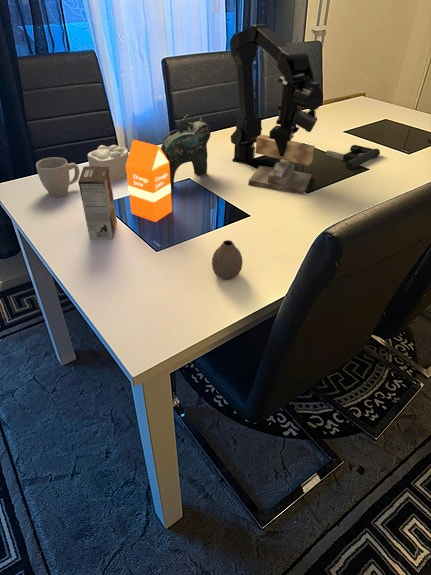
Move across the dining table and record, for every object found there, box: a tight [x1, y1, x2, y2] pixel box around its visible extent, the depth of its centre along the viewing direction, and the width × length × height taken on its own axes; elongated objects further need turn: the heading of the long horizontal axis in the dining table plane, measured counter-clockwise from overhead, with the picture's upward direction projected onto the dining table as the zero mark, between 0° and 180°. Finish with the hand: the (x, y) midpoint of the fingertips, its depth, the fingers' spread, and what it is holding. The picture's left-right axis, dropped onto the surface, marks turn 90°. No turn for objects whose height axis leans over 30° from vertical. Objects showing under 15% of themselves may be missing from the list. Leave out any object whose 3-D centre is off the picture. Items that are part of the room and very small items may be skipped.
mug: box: [35, 156, 81, 198], centre depth 125 cm, size 12×9×10 cm
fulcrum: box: [247, 159, 313, 195], centre depth 135 cm, size 18×13×6 cm
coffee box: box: [77, 165, 118, 240], centre depth 106 cm, size 9×6×16 cm
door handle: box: [325, 144, 381, 170], centre depth 154 cm, size 3×20×16 cm
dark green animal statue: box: [160, 114, 211, 188], centre depth 131 cm, size 20×6×20 cm, turn 134°
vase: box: [211, 239, 243, 281], centre depth 94 cm, size 7×7×9 cm
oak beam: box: [255, 134, 315, 166], centre depth 130 cm, size 18×4×5 cm, turn 59°
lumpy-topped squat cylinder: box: [87, 144, 129, 183], centre depth 137 cm, size 10×13×9 cm
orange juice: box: [126, 139, 173, 223], centre depth 113 cm, size 8×9×20 cm
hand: (283, 153), depth 131 cm, fingers closed on oak beam, 4 cm apart
